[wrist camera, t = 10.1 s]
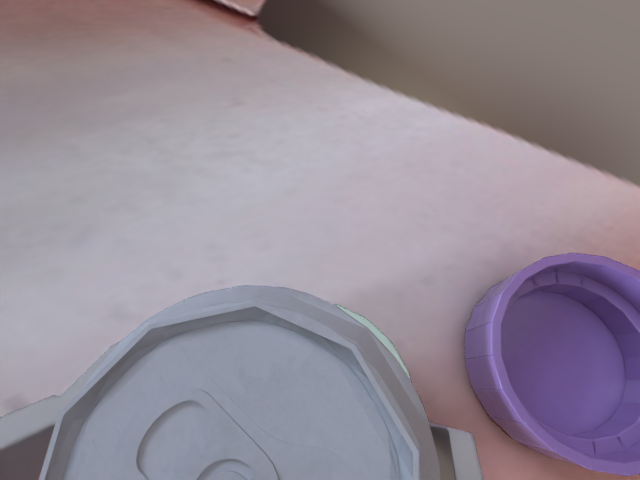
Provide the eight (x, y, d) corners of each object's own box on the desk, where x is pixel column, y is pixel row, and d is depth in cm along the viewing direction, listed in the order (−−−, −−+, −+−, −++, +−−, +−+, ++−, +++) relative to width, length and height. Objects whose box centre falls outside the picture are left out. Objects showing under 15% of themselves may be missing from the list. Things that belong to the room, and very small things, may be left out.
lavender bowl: (436, 401, 22) (462, 405, 18) (492, 249, 26) (525, 223, 21) (618, 493, 21) (692, 522, 17) (655, 319, 24) (726, 306, 20)
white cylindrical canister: (300, 515, 14) (211, 1076, 3) (209, 418, 15) (-126, 525, 4) (384, 406, 15) (566, 476, 4) (294, 323, 16) (232, 191, 5)
